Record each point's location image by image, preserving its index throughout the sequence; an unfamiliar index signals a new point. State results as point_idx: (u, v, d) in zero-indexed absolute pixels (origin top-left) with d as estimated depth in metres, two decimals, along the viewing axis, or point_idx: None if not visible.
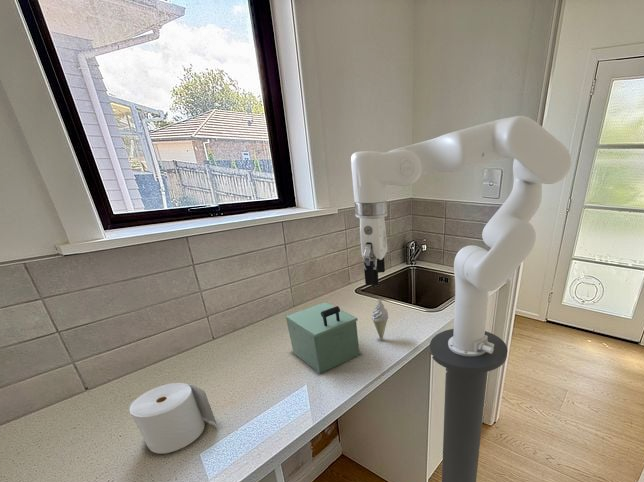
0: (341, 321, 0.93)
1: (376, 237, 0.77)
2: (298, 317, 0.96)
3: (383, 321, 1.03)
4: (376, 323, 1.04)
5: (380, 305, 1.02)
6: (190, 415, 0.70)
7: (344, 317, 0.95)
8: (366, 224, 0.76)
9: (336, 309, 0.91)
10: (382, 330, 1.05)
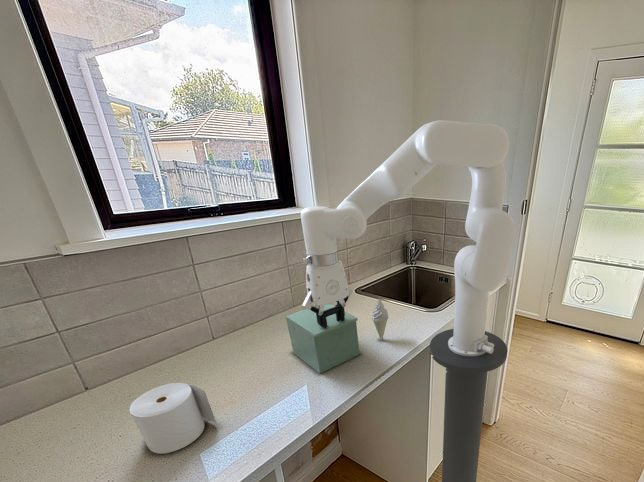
0: (341, 321, 0.93)
1: (312, 286, 0.82)
2: (298, 317, 0.96)
3: (383, 321, 1.03)
4: (376, 323, 1.04)
5: (380, 305, 1.02)
6: (190, 415, 0.70)
7: None
8: (307, 272, 0.82)
9: (336, 309, 0.91)
10: (382, 330, 1.05)
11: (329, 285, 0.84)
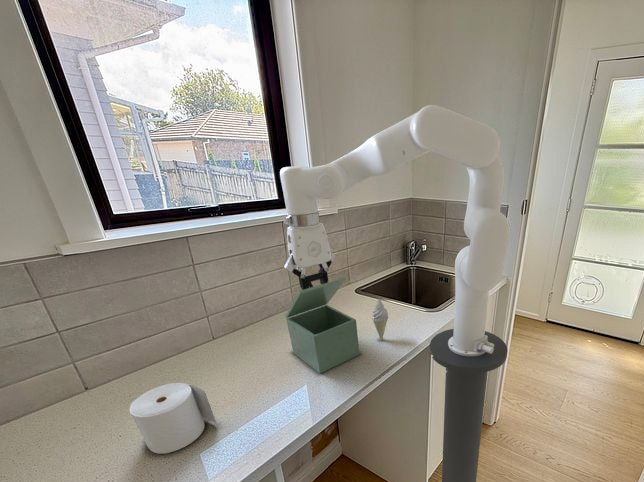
0: None
1: (293, 246, 0.82)
2: None
3: (383, 321, 1.03)
4: (376, 323, 1.04)
5: (380, 305, 1.02)
6: (190, 415, 0.70)
7: None
8: (288, 233, 0.83)
9: (319, 273, 0.91)
10: (382, 330, 1.05)
11: (310, 247, 0.85)
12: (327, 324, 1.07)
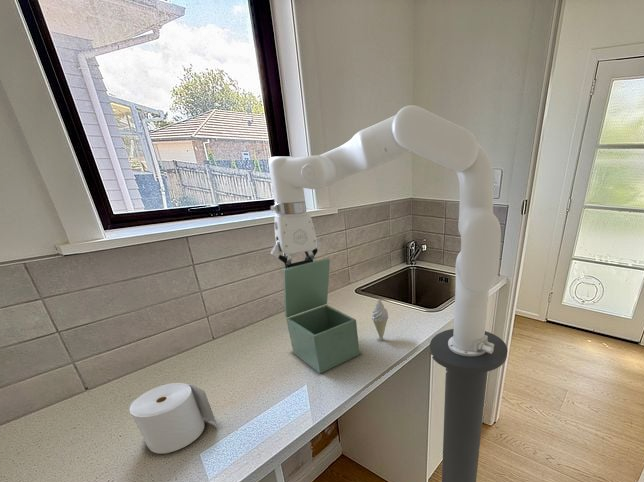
0: None
1: (279, 233, 0.86)
2: None
3: (383, 321, 1.03)
4: (376, 323, 1.04)
5: (380, 305, 1.02)
6: (190, 415, 0.70)
7: None
8: (275, 220, 0.86)
9: (304, 260, 0.95)
10: (382, 330, 1.05)
11: (296, 234, 0.88)
12: (327, 324, 1.07)
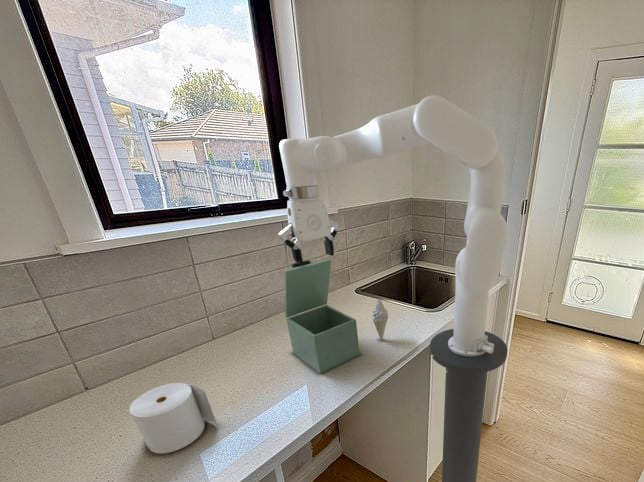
0: None
1: (293, 219, 0.84)
2: None
3: (383, 321, 1.03)
4: (376, 323, 1.04)
5: (380, 305, 1.02)
6: (190, 415, 0.70)
7: None
8: (288, 206, 0.84)
9: None
10: (382, 330, 1.05)
11: (310, 220, 0.86)
12: (327, 324, 1.07)
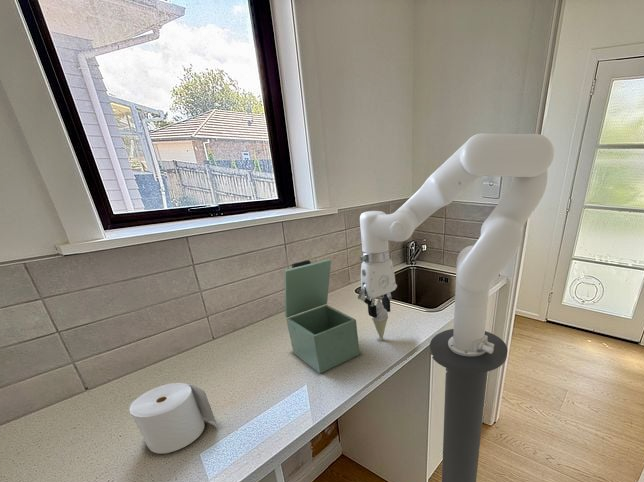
0: None
1: (367, 280, 0.94)
2: None
3: (383, 321, 1.03)
4: (376, 323, 1.03)
5: (380, 305, 1.02)
6: (190, 415, 0.70)
7: None
8: (363, 268, 0.94)
9: None
10: (382, 330, 1.05)
11: (381, 279, 0.96)
12: (327, 324, 1.07)
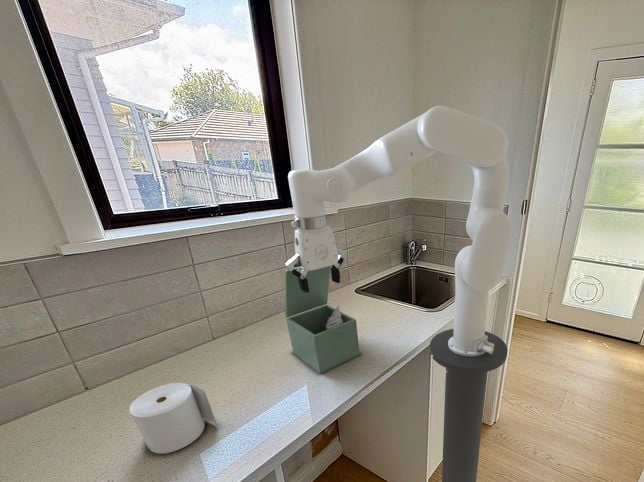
0: None
1: (301, 249, 0.82)
2: None
3: None
4: None
5: (337, 313, 0.97)
6: (190, 415, 0.70)
7: None
8: (295, 236, 0.83)
9: None
10: None
11: (318, 250, 0.85)
12: None
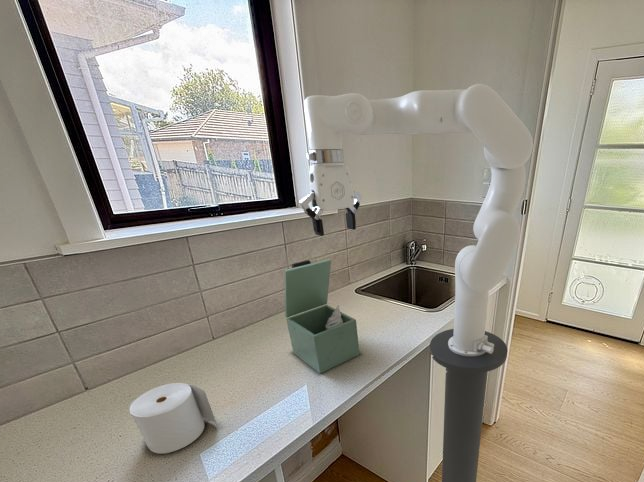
0: None
1: (316, 185, 0.77)
2: None
3: None
4: None
5: (337, 313, 0.97)
6: (190, 415, 0.70)
7: None
8: (311, 171, 0.77)
9: None
10: None
11: (334, 187, 0.79)
12: None
